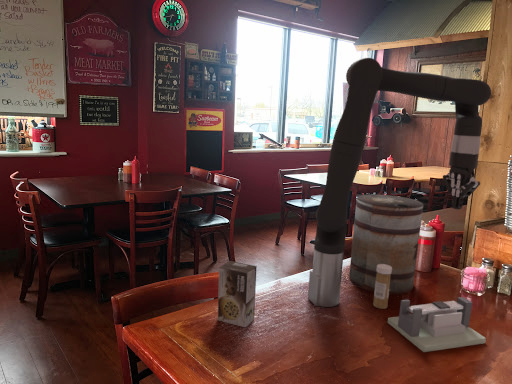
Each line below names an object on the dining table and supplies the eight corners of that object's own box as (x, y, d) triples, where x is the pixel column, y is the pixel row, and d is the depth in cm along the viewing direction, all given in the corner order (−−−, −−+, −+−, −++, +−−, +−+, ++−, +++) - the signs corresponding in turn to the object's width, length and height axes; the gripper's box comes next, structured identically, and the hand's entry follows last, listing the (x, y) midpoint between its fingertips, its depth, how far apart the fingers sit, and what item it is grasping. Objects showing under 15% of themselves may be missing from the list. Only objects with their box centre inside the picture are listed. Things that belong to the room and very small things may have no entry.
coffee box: (255, 318, 124) (257, 265, 121) (245, 328, 119) (247, 273, 116) (227, 311, 128) (229, 259, 125) (216, 320, 122) (218, 266, 119)
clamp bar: (414, 315, 116) (415, 311, 116) (406, 309, 119) (406, 305, 119) (462, 308, 121) (463, 304, 120) (453, 303, 124) (454, 299, 124)
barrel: (424, 283, 157) (434, 203, 151) (393, 300, 141) (404, 211, 136) (369, 265, 173) (377, 192, 167) (336, 279, 157) (344, 198, 151)
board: (423, 352, 111) (427, 319, 109) (386, 322, 126) (390, 292, 124) (485, 343, 117) (490, 311, 115) (443, 315, 132) (447, 287, 130)
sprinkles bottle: (390, 307, 136) (395, 267, 133) (380, 310, 134) (385, 269, 131) (379, 301, 140) (383, 262, 137) (369, 304, 137) (373, 264, 135)
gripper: (438, 148, 131) (431, 204, 134) (471, 153, 119) (462, 214, 122) (458, 149, 133) (450, 203, 137) (493, 154, 121) (483, 213, 124)
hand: (456, 208), depth 129 cm, fingers closed
